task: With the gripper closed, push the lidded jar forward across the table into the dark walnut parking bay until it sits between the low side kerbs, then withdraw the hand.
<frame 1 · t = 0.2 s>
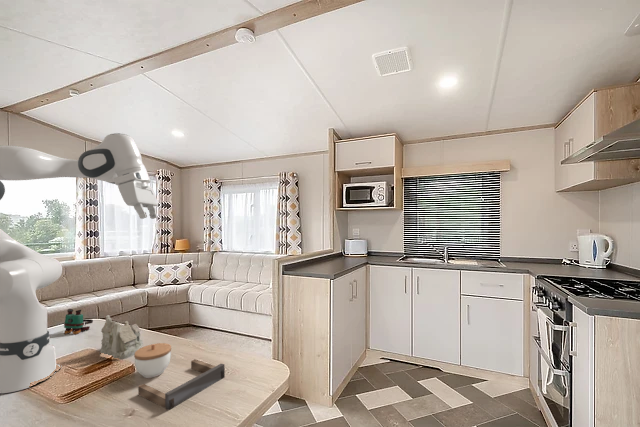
hand: (149, 218, 104), 51 cm above the table, tool tilted 20°, fingers open, 8 cm apart
binoculars: (78, 331, 141), on the table
parking bay: (182, 384, 93), on the table
ceramic cottage: (124, 350, 119), on the table
lidded jar: (153, 373, 100), on the table
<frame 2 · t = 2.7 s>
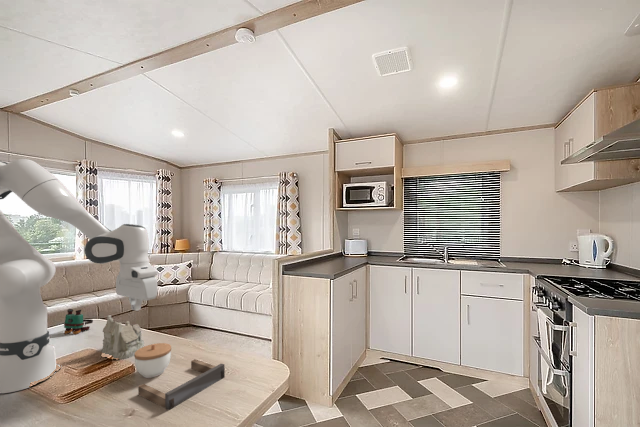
hand: (136, 309, 106), 19 cm above the table, tool pointing down, fingers closed
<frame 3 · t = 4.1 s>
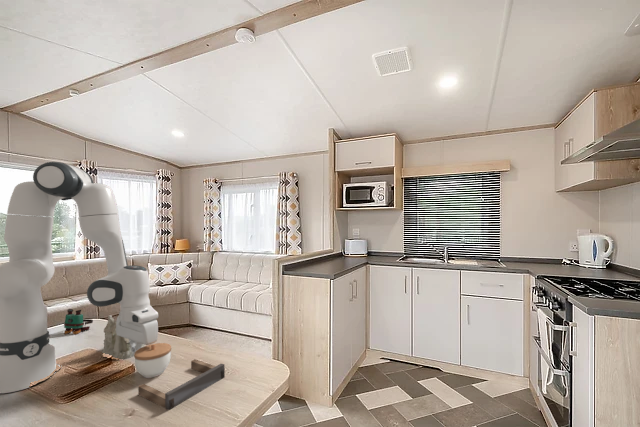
hand: (136, 352, 106), 5 cm above the table, tool pointing down, fingers closed
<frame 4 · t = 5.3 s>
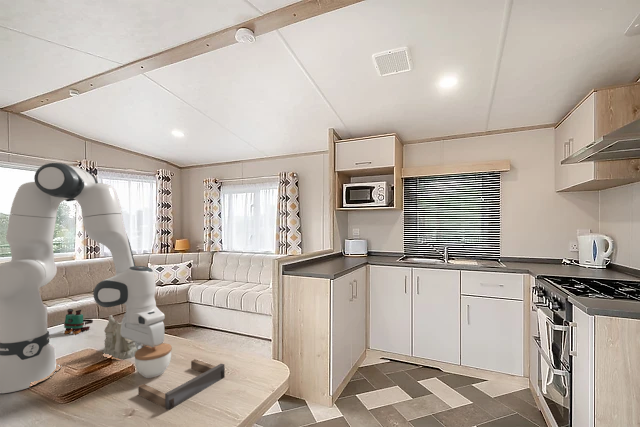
hand: (141, 354, 104), 5 cm above the table, tool pointing down, fingers closed
lidded jar: (153, 373, 100), on the table, touching gripper
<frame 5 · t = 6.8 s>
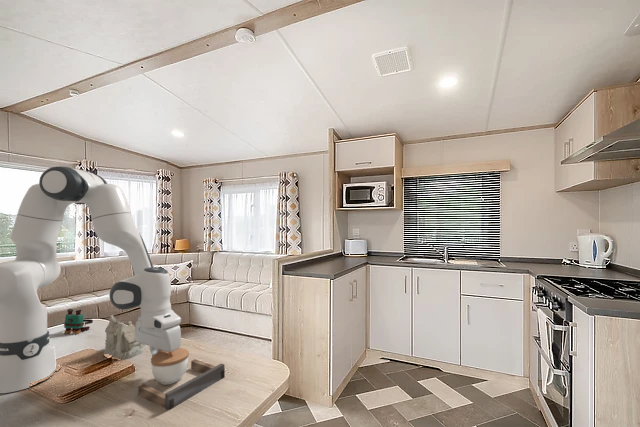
hand: (156, 359, 100), 5 cm above the table, tool pointing down, fingers closed
lidded jar: (170, 380, 96), on the table, touching gripper
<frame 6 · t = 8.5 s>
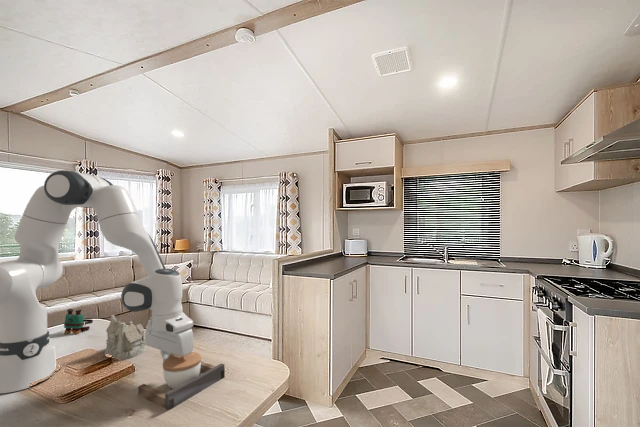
hand: (168, 363, 97), 5 cm above the table, tool pointing down, fingers closed
lidded jar: (182, 385, 93), on the table, touching gripper
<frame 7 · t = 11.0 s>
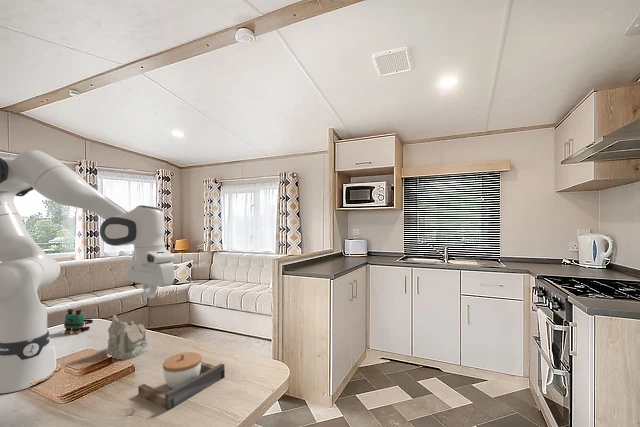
hand: (149, 297, 99), 25 cm above the table, tool pointing down, fingers closed
lidded jar: (182, 385, 93), on the table
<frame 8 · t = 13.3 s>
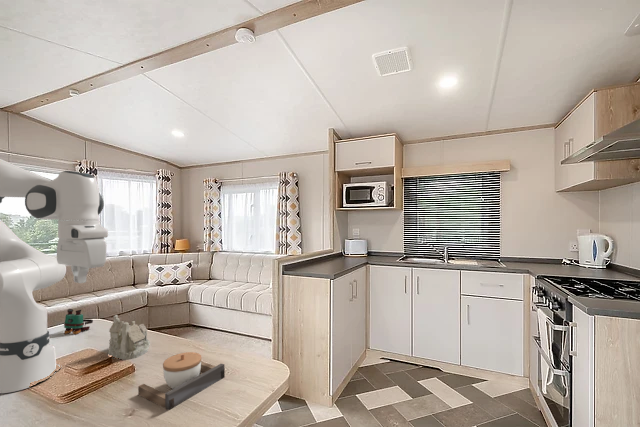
hand: (80, 282, 82), 34 cm above the table, tool pointing down, fingers closed
at the end: lidded jar inside the target area on the parking bay (0.7 cm from its centre), point 0.0 cm above the parking bay's base; lidded jar tilted 0°; lidded jar moved 15.3 cm from its start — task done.
